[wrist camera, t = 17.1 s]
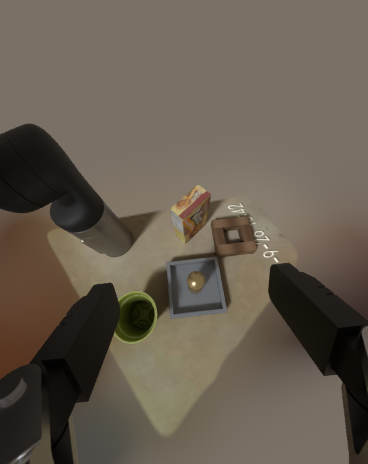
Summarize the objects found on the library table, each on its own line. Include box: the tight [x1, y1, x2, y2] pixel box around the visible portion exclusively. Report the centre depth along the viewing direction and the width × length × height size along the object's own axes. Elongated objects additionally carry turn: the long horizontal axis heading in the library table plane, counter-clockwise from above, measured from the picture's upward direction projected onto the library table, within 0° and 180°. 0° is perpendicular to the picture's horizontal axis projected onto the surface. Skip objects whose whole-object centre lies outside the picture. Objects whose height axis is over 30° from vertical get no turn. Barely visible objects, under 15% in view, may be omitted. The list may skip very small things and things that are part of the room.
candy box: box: [170, 185, 211, 244], centre depth 43 cm, size 9×4×15 cm, turn 136°
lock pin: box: [187, 271, 205, 294], centre depth 37 cm, size 3×3×12 cm
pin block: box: [211, 216, 257, 257], centre depth 47 cm, size 10×10×3 cm
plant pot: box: [114, 291, 157, 344], centre depth 38 cm, size 9×9×9 cm
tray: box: [167, 257, 227, 319], centre depth 42 cm, size 13×13×3 cm
